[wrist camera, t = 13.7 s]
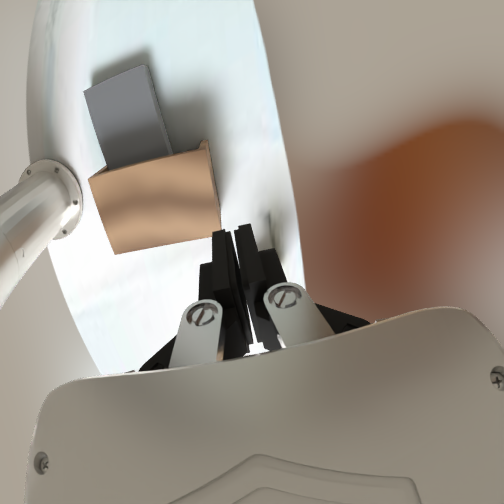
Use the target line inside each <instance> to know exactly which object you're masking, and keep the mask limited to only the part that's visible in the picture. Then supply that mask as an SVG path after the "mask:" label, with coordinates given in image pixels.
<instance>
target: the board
mask: <svg viewBox="0 0 504 504" xmlns="http://www.w3.org/2000/svg"><path fill="white" fill-rule="evenodd" d="M84 95H85V99H86V102H87V106H88V109H89V113H90V116H91V119H92V123H93V126H94V129H95V132H96V135H97V138H98V141H99V144H100V147H101V150H102V153H103V156H104V158H105V161H106V164H107V167H108V169H109V171H110V170H113V169H117V168H120V167H124V166H127V165H131V164H135V163H139V162H142V161H146V160H150V159H154V158H158V157H163V156H167V155H171V154H173V151H172V148H171V145H170V141H169V138H168V135H167V131H166V128H165V125H164V121H163V118H162V115H161V111H160V108H159V104H158V101H157V97H156V94H155V90H154V86H153V83H152V79H151V75H150V72H149V68H148V66H146V65H144V64H142V65H140V66H137V67H134V68H132V69H130V70H127V71H125V72H122V73H120V74H118V75H116V76H113V77H111V78H109V79H107V80H105V81H103V82H101V83H99V84H97V85H95V86H93V87H91V88H89V89H87V90H85V91H84Z"/></svg>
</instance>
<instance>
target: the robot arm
mask: <svg viewBox="0 0 504 504" xmlns="http://www.w3.org/2000/svg"><path fill="white" fill-rule="evenodd" d="M82 210H83V200H82V194H81V190H80V187H79V185H78V183H77V180H76V178H75V177H74V176H73V174H72V173H71V172H70V171H69V170H68V168H67V167H65V166H64V165H63V164H61V163H59V162H57V161H55V160H50V159H44V160H39V161H37V162H35V163H33V164H31V165H30V166H29V167H27V168H26V169H25V171H24V172H23V173H22V175H21V177H20V180H19V183H18V185H16V186H15V187H13V188H12V189H10V190H9V191H7V192H6V193H4V194H3V195H1V196H0V310H1V308H2V306H3V305H4V303H5V301H6V300H7V298H8V297H9V295H10V294H11V292H12V291H13V289H14V288H15V286H16V285H17V283H18V282H19V281H20V279H21V278H22V277H23V275H24V274H25V272H26V271H27V270H28V268H29V267H30V266H31V265H32V264H33V262H34V261H35V260H36V258H37V257H38V256H39V254H40V253H41V252H42V251H43V250H44V249H45V247H46V246H47V245H48V244H49V243H50V242H51V240H58V239H62V238H64V237H67V236H68V235H69V234H70V233H72V231H73V230H74V229H75V228H76V226H77V225H78V223H79V221H80V218H81V215H82ZM238 228H239V229H238V230H234V234H235V241H236V247H237V254H238V260H239V264H238V260H237V256H236V252H235V248H234V244H233V240H232V236H231V232H230V231H229V232H225V229H223V230H218V231H214V232H212V262H209V263H205V264H201V265H200V275H199V299H198V301H197V302H195V303H193V304H191V305H190V306H188V307H187V309H186V310H185V311H184V313H183V315H182V318H181V322H180V326H179V329H178V333H177V335H176V336H175V337H174V338H173V339H171V340H170V341H169V342H168V343H167V344H166V345H165V346H164V347H163V348H161V349H160V350H159V351H158V352H157V353H156V354H155V355H154V356H152V357H151V358H150V359H149V360H148V361H147V362H146V363H145V364H144V365H143V366H142V367H141V368H140V370H139V372H135V371H134V370H132V371H129V372H126V373H121V374H110V375H100V376H91V377H85V378H80V379H77V380H73V381H70V382H68V383H65V384H63V385H60V386H59V387H57V388H55V389H54V390H53V391H51V392H50V393H49V394H48V395H47V397H46V399H45V400H44V402H43V404H42V407H41V409H40V412H39V415H38V418H37V421H36V424H35V428H34V432H33V436H32V441H31V445H30V451H29V457H28V464H27V472H26V482H25V498H24V504H504V348H503V347H502V346H501V344H500V343H499V342H498V340H497V339H496V338H495V336H494V335H493V334H492V333H491V331H490V330H489V329H488V328H487V327H486V326H485V325H484V324H483V323H482V322H481V321H480V320H479V319H478V318H477V317H476V316H475V315H473V314H472V313H470V312H468V311H467V310H464V309H461V308H456V307H433V308H427V309H421V310H417V311H413V312H408V313H405V314H402V315H399V316H396V317H392V318H387V319H379V320H376V322H375V323H372V324H370V323H369V322H368V321H366V320H364V319H361V318H358V317H355V316H352V315H349V314H346V313H343V312H340V311H337V310H334V309H331V308H328V307H325V306H322V305H319V304H316V303H313V301H312V299H311V298H310V297H309V295H308V294H307V292H306V291H305V289H304V288H303V287H302V286H300V285H298V284H296V283H291V282H287V280H286V277H285V274H284V271H283V269H282V266H281V263H280V261H279V258H278V255H277V253H276V250H275V248H273V249H268V250H263V251H259V252H258V249H257V245H256V242H255V238H254V234H253V231H252V227H251V224H245V225H241V226H238ZM239 267H240V268H239ZM246 301H247V302H246ZM247 305H248V307H247ZM248 308H249V312H250V316H251V320H252V323H253V327H254V331H255V335H256V338H257V342H258V343H259V342H263V345H264V348H265V349H267V350H269V351H268V352H264V353H259V354H254V355H249V356H244V355H245V354H246V353H250V350H249V344H253V337H252V331H251V325H250V319H249V313H248ZM243 356H244V357H243Z"/></svg>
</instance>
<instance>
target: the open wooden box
mask: <svg viewBox="0 0 504 504" xmlns="http://www.w3.org/2000/svg"><path fill="white" fill-rule="evenodd" d="M88 181H89V184H90V188H91V191H92V194H93V197H94V200H95V203H96V206H97V209H98V212H99V215H100V217H101V220H102V223H103V226H104V228H105V231H106V234H107V236H108V239H109V241H110V244H111V247H112V249H113V251H114V254H115V255H116V254H122V253H127V252H132V251H137V250H142V249H147V248H153V247H158V246H163V245H169V244H174V243H180V242H185V241H191V240H196V239H202V238H208V237H212V232H214V231H218V230H222V229H221V211H220V206H219V201H218V195H217V190H216V184H215V179H214V173H213V168H212V162H211V156H210V151H209V145H208V140H203V141H201V143H200V146H199V149H195V150H190V151H185V152H181V153H176V154H171V155H167V156H163V157H158V158H154V159H150V160H146V161H142V162H139V163H135V164H131V165H127V166H124V167H120V168H117V169H113V170H110V171H109V169H108V167H107V165H106V166H105V167H103V168H102V169H101V170H99V171H98V172H97V173H95V174H94V175H93V176H91V177H90V178H89V179H88Z"/></svg>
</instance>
